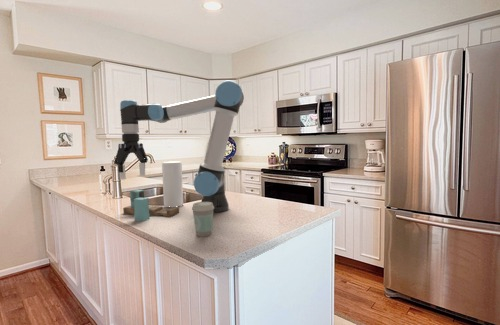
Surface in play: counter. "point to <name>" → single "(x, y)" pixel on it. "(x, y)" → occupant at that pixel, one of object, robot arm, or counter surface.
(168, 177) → the tall pillar cylinder
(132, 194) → the rail
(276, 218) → the counter surface
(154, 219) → the counter surface
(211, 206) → the coffee cup
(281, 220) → the counter surface
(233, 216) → the counter surface
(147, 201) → the block
